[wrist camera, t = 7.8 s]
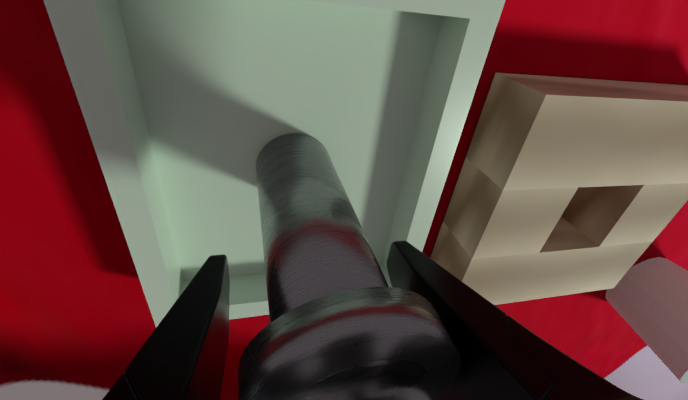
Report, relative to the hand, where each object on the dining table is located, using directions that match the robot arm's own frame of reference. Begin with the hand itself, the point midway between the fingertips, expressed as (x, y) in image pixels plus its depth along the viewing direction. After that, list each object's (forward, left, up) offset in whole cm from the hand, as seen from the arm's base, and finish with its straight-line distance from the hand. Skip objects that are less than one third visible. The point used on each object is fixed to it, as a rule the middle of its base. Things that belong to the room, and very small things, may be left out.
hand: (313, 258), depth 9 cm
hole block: (-2, -14, -6) cm, 16 cm away
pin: (0, 0, -5) cm, 5 cm away
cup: (-12, -29, -6) cm, 32 cm away
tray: (0, 0, -6) cm, 6 cm away
